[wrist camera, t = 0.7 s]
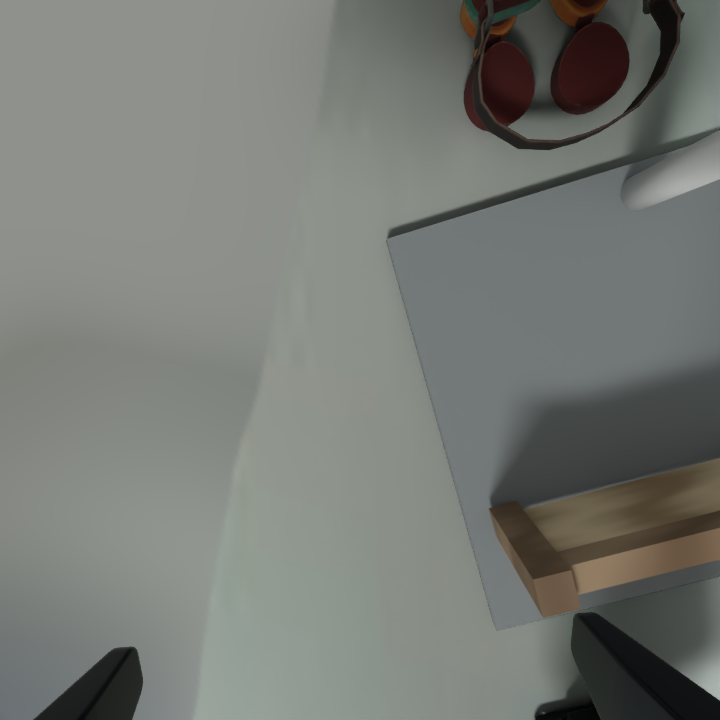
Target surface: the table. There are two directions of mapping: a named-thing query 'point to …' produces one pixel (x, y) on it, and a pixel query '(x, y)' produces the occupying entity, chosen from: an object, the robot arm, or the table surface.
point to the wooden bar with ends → (612, 535)
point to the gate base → (572, 347)
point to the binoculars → (572, 70)
